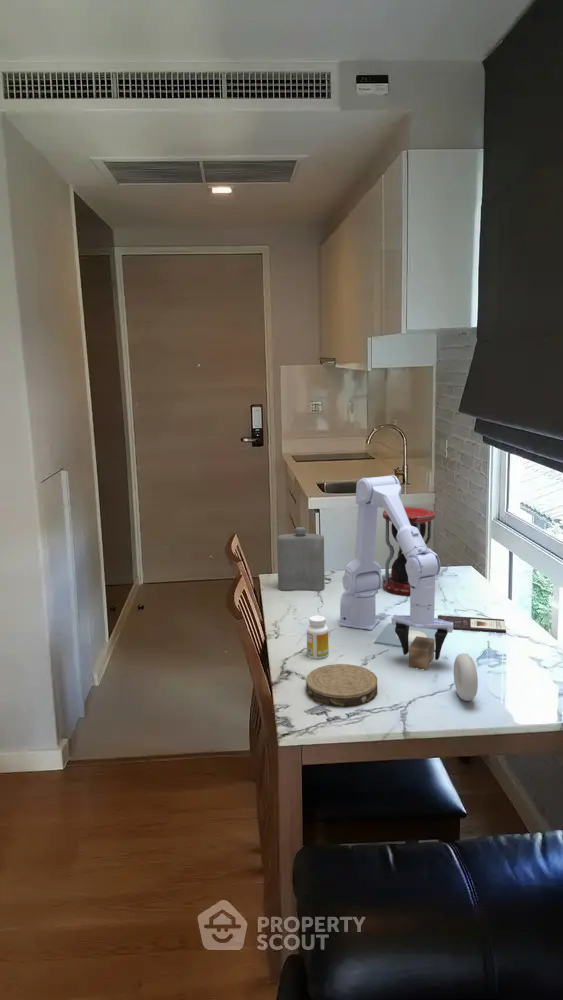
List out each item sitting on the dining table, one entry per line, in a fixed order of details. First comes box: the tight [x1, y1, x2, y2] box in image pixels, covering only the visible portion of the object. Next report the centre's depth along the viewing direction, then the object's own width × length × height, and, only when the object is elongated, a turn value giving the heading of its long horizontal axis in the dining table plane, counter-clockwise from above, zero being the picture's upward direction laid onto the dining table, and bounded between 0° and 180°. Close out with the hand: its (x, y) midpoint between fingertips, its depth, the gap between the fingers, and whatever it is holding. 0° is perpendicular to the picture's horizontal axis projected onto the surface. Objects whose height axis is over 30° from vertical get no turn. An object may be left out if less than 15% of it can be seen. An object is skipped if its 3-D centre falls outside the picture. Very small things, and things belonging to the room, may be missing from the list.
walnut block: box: [407, 636, 435, 671], centre depth 172 cm, size 4×8×5 cm, turn 156°
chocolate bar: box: [437, 614, 507, 634], centre depth 195 cm, size 9×1×18 cm
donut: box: [453, 653, 479, 702], centre depth 153 cm, size 10×4×10 cm, turn 1°
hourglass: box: [382, 506, 436, 597], centre depth 225 cm, size 16×16×25 cm
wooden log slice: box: [305, 663, 378, 708], centre depth 159 cm, size 16×16×3 cm
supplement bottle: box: [306, 615, 330, 660], centre depth 177 cm, size 5×5×10 cm
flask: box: [276, 526, 326, 592], centre depth 228 cm, size 15×6×20 cm, turn 86°
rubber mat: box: [373, 622, 437, 653], centre depth 187 cm, size 16×14×1 cm
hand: (421, 655), depth 172 cm, fingers open, 7 cm apart
